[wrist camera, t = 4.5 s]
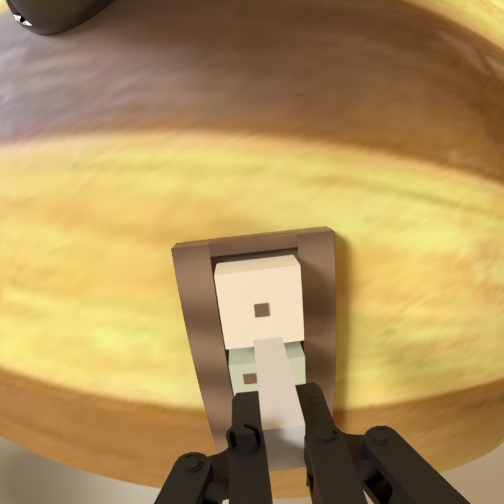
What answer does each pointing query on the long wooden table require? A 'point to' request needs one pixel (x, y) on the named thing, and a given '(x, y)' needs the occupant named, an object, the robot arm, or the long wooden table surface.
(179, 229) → the long wooden table surface
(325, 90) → the long wooden table surface
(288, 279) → the button one cream
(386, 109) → the long wooden table surface
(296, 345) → the button two sage
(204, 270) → the brown wooden tray
